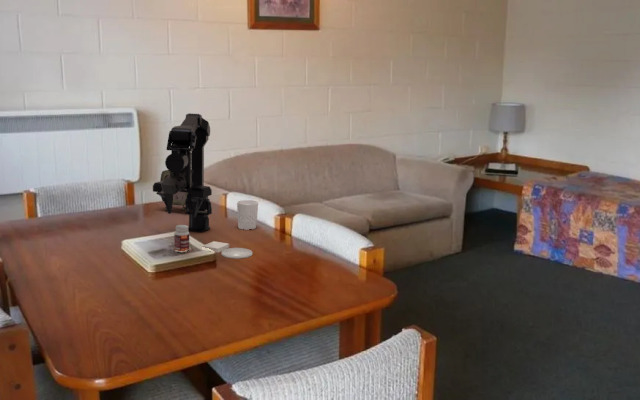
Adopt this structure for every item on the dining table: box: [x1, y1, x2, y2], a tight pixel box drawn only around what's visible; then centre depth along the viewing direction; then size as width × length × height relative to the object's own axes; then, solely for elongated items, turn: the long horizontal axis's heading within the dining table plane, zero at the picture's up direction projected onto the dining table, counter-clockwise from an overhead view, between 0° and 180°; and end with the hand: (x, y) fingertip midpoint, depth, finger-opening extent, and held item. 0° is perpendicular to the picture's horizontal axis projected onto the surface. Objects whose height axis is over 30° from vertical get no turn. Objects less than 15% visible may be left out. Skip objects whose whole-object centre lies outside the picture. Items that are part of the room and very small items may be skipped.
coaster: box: [221, 247, 253, 259], centre depth 197 cm, size 10×10×1 cm
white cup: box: [236, 199, 259, 231], centre depth 230 cm, size 8×8×10 cm
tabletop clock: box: [159, 169, 188, 212], centre depth 250 cm, size 14×9×25 cm, turn 68°
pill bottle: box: [173, 224, 190, 251], centre depth 197 cm, size 5×5×8 cm
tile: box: [201, 240, 230, 253], centre depth 202 cm, size 6×2×7 cm
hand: (182, 215), depth 195 cm, fingers open, 9 cm apart
